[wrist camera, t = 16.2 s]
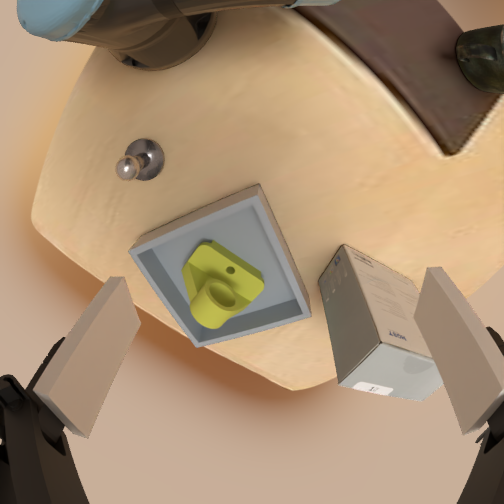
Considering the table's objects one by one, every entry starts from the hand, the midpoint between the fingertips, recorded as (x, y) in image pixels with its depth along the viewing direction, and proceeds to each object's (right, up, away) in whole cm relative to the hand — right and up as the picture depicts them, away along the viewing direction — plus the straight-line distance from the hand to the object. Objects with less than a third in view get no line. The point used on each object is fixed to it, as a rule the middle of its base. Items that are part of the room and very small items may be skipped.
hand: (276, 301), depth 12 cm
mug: (+31, +30, +14) cm, 46 cm away
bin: (-5, 0, +33) cm, 34 cm away
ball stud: (-16, +15, +26) cm, 34 cm away
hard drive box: (+18, -3, +33) cm, 38 cm away
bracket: (-5, -1, +33) cm, 33 cm away
